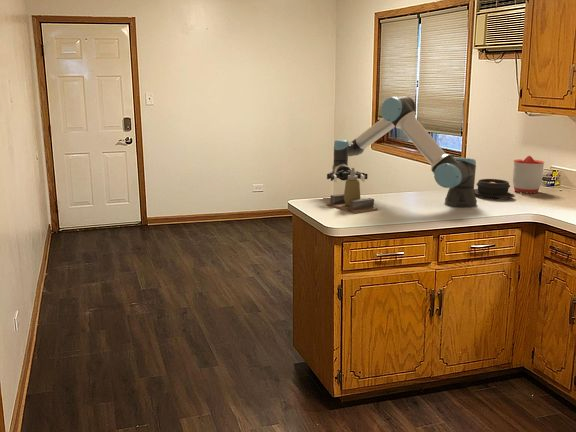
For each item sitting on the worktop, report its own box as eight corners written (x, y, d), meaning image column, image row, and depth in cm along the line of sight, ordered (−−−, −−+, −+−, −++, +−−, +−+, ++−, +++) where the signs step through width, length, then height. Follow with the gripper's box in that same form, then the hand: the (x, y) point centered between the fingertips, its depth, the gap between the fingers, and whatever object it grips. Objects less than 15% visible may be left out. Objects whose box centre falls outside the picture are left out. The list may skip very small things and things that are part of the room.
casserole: (523, 199, 323) (525, 183, 321) (495, 202, 316) (497, 186, 314) (488, 191, 345) (490, 176, 343) (462, 193, 338) (463, 178, 336)
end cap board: (378, 210, 295) (378, 199, 294) (355, 213, 288) (355, 202, 287) (348, 201, 313) (348, 192, 312) (326, 204, 306) (326, 194, 305)
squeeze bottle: (341, 203, 304) (343, 166, 300) (358, 203, 305) (359, 166, 301) (344, 207, 296) (346, 169, 292) (361, 207, 297) (363, 169, 293)
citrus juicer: (538, 189, 352) (542, 153, 348) (543, 195, 336) (547, 157, 331) (509, 188, 355) (512, 152, 351) (512, 193, 339) (515, 156, 335)
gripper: (366, 179, 326) (375, 186, 306) (319, 179, 325) (324, 186, 304) (367, 165, 325) (375, 171, 304) (319, 165, 323) (324, 171, 302)
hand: (349, 179), depth 304 cm, fingers open, 13 cm apart
